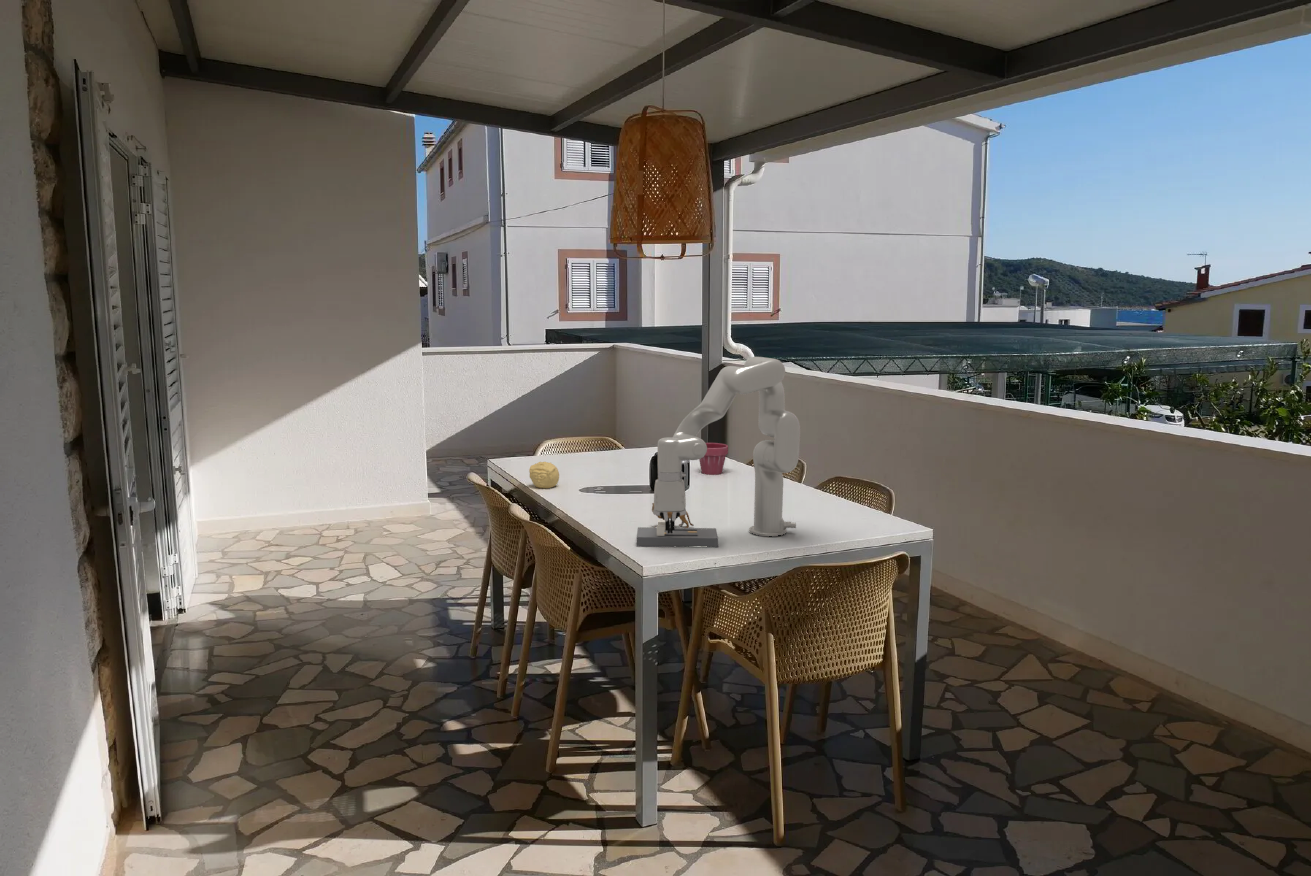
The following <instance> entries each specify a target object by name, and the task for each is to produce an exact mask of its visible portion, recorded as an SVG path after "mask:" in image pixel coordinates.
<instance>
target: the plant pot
mask: <svg viewBox="0 0 1311 876" xmlns="http://www.w3.org/2000/svg"><path fill="white" fill-rule="evenodd" d="M705 443H706V445H707V452H706V454H705V455H704V457H702V458H701V459H698V461H699V465H700V471H701V474H703V475H707V476H708V475H709V476H718V475H722V473H723V470H724V466H725V462H726V456H727V455H728V454H729V445H728V444H725V443H721V442H719V443H718V442H705Z"/></svg>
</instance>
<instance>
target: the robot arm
mask: <svg viewBox="0 0 1311 876" xmlns="http://www.w3.org/2000/svg"><path fill="white" fill-rule="evenodd" d="M785 376H786V367H785V364H783V362H782V361H781V360H780V359H777V358H773V357H772V358H770V357H763V356H751V357H749V358H748V359H746V361H744V365H743V367H741V366H735V365H728V366H725V367H722V369H720V371H719V373H718V374H717V376H716V377H715V380H714V381H713V382H712V384H711V385H710V387H709V389H708V391H707V392H706V394H705V396H704V398H702V399H703V400H702V401H701V402H700V403H699V405H697V406H696V407H695V408H693V409H692V410H691V411H690V412H689V413H688V414H687V415H686V416H685V417H684V418H683V419H682V421H681V422H680V423H679V425H678V427H677V428H676V430H675V432H674V434H673V436H672V437H668V436H667V437H662V438H660V439H658V440H657V479H655V482H654V491H653V503H654V511H653V512H652V514H653V515H655V516H656V515H658V516H661V517H662V518H663V519H664V520H665V530H668V533H673V532H672V530H675V528H676V525H675V523H676V522H675V521H676V520H677V519H678V518H679V516H680V515H685V514H686V511H687V509H686V505H687V504H686V503H687V502H686V500H687V499H686V488H685V487H686V485H685V481H684V479H683V478H686V477H687V474H686V472H683V471H682V461H699V459H701V458H702V457H704V455H705V454H706V452H707V445H706V443H707V442H705V440H703V439H702V438H700V437H698V434H699V433H700V432H701V430H702V429H704V428H705V427H706V426H707V425H710V424H712V423H714V422H717V421H718V420H720V419H723V417H724V416H725V415H726V413H727V411H728V409H729V408H730V407H731V405H732V403H733V401H734V399H735V398H736V396H737V395H738V394H739V395H749V394H752V393H755V392H758V420H757V422H758V425H757V426H758V430H759V432H760V433H761V434H762V435H764V436H767V437H770V438H774V440H773V439H772V440H771V439H764V440H761V441H760V442H758V443H757V444H756V445H755V446H754V448H753V450H752V451H753V452H752V460H753V466H754V467H753V468H754V501H753V502H754V505H753V507H754V508H753V525H752V526H750V527H749V529H748V532H749V533H750V534H752V533H753V534H752V535H754V534H756V535H755V536H758V535H759V536H758V537H769V536H772V537H779V536H778V535H781V536H784V535H786V534H787V529H796V528H797V522H792V521H785V520H784V519H783V505H784V504H783V502H784V501H783V500H784V476H783V474H787V473H791V472H792V471H794V470H795V468H796V467H797V465H798V462H799V458H800V442H801V441H800V440H801V424H800V420H799V418H798V417H797V416H796V414H794V413H793V412H791V411H788V410H786V403H785V402H786V400H785V399H786V395H785V393H786V392H785V388H784V384H783V382H782V381H783V380H784V378H785ZM667 512H672V517H671V519H669V517H668V514H667ZM685 516H686V515H685ZM663 519H662V520H663ZM785 533H786V534H785ZM783 534H784V535H783Z"/></svg>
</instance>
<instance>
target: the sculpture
mask: <svg viewBox="0 0 1311 876" xmlns="http://www.w3.org/2000/svg"><path fill="white" fill-rule="evenodd" d="M528 470H529V471H528V472H529V479H530V480H531V482H532V485H533V486H534V487H536V488H537V489H551V488H554V487H556V486H557V485H558V482H559V480H560V471H559V469H558V467H557V466H556V465H554V464H553V463H552V462H547V461H539V462H537V463H535V464H532V465H530V467H529V469H528Z"/></svg>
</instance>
